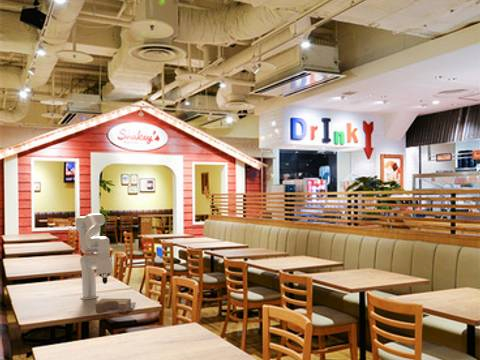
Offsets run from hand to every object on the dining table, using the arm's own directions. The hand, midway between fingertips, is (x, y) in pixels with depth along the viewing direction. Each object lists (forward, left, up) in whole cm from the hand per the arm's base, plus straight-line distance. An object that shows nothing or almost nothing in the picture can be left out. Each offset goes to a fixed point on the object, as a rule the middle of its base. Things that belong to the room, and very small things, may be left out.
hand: (105, 283), depth 314 cm
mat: (+2, +9, -16) cm, 19 cm away
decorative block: (+7, -4, -12) cm, 15 cm away
